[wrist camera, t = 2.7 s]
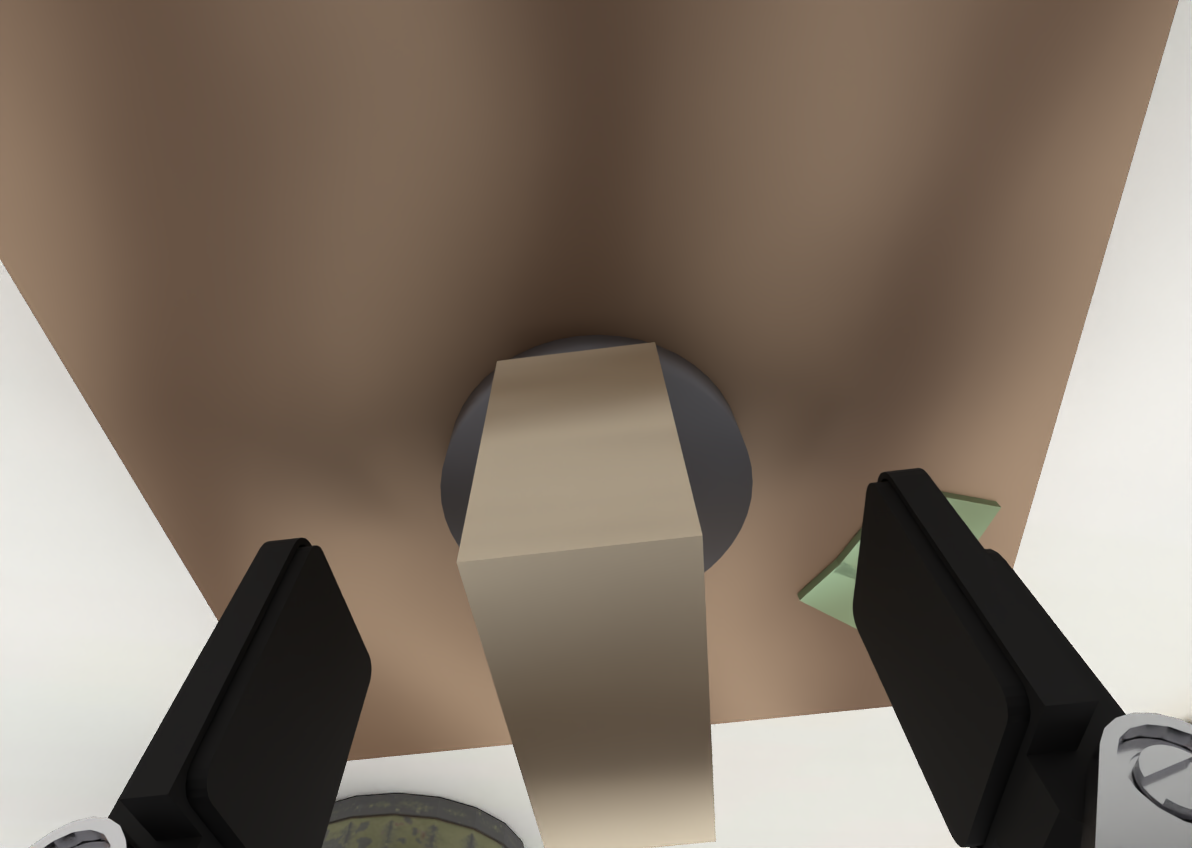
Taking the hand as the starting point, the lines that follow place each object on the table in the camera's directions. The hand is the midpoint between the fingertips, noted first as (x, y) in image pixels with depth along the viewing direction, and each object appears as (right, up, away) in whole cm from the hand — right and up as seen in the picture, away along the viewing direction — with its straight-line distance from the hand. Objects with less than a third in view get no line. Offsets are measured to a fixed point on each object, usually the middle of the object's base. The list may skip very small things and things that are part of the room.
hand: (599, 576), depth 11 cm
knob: (0, -1, +4) cm, 4 cm away
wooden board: (0, +3, +4) cm, 5 cm away
